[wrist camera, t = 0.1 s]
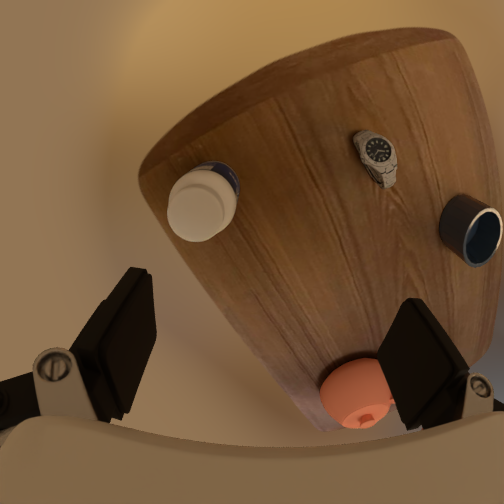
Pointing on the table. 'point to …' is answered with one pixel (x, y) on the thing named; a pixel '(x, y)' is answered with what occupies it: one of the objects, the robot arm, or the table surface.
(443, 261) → the table surface
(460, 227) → the cup
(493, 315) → the table surface
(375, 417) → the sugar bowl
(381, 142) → the wristwatch
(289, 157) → the table surface
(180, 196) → the pill bottle
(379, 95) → the table surface
